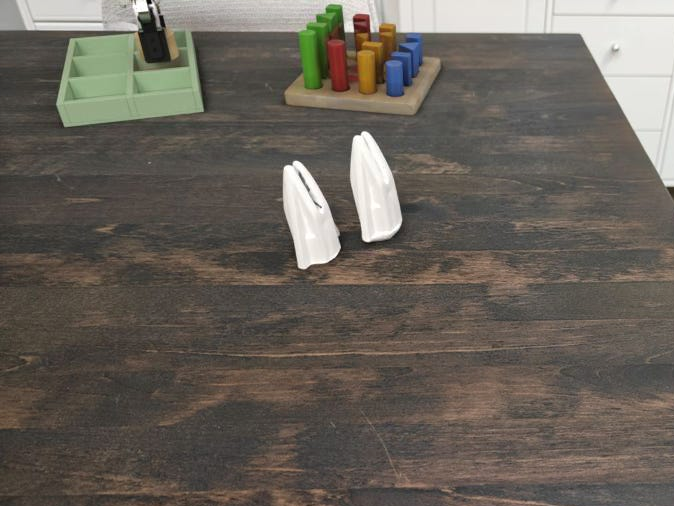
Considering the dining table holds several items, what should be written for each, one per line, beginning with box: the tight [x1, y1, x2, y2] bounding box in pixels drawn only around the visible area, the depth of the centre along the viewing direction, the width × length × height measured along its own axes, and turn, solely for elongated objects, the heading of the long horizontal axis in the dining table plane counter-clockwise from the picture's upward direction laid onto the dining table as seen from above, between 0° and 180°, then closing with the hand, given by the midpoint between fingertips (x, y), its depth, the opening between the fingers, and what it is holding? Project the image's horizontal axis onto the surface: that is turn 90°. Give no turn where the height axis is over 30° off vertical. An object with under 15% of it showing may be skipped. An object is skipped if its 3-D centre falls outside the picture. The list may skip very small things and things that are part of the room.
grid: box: [55, 28, 205, 128], centre depth 100 cm, size 16×24×3 cm
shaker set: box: [282, 131, 403, 270], centre depth 69 cm, size 12×4×11 cm, turn 121°
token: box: [134, 27, 179, 62], centre depth 99 cm, size 5×5×3 cm
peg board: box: [283, 3, 442, 116], centre depth 100 cm, size 18×17×9 cm
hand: (158, 53), depth 100 cm, fingers closed on token, 5 cm apart
